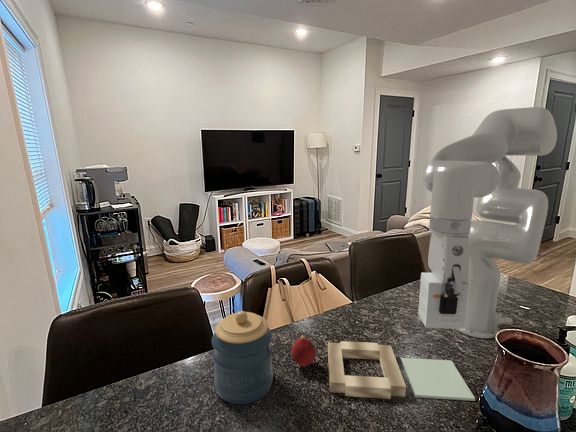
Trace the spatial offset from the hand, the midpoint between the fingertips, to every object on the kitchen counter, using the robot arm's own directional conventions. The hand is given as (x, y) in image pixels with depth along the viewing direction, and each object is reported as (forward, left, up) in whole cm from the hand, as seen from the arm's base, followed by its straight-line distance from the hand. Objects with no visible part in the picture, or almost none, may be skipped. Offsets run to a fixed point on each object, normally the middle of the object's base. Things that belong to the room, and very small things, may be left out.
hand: (441, 305), depth 68 cm
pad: (0, 0, -18) cm, 18 cm away
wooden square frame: (+16, -1, -18) cm, 24 cm away
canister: (+43, +5, -18) cm, 47 cm away
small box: (0, 0, -4) cm, 4 cm away
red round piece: (+30, -2, -18) cm, 35 cm away
